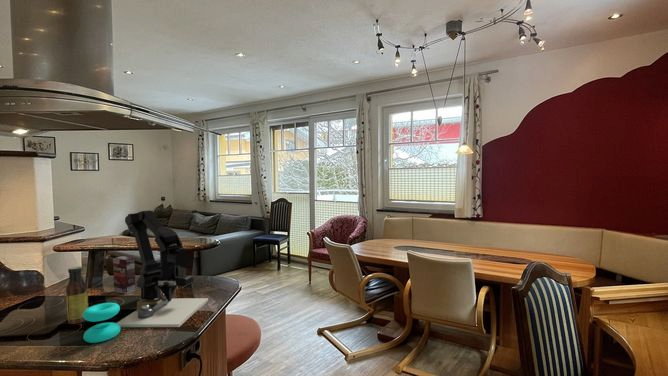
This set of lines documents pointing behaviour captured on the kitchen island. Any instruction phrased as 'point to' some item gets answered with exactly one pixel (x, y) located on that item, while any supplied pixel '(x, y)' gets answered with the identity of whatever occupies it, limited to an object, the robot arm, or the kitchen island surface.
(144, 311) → the pivot link
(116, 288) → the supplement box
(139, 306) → the keeper
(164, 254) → the robot arm
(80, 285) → the sauce bottle
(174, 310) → the base board
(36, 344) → the kitchen island surface
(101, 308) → the donuts
